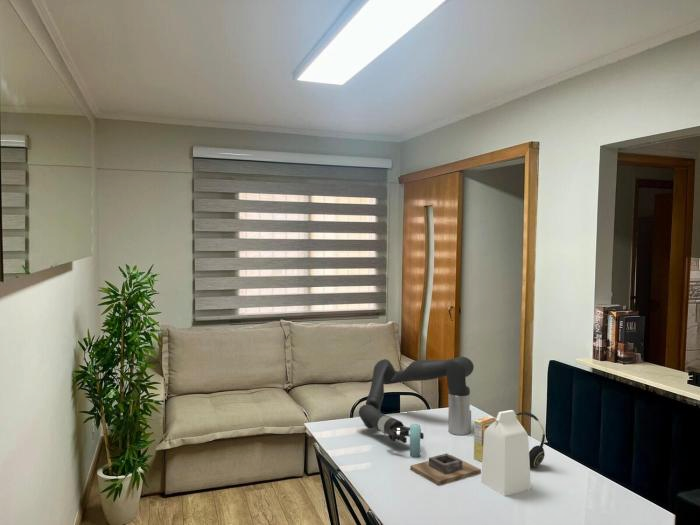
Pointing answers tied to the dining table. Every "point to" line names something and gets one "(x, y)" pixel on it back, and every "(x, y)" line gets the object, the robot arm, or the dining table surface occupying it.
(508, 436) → the milk
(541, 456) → the headphones
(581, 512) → the dining table surface
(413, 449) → the teal peg
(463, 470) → the wooden peg socket board
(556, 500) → the dining table surface
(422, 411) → the dining table surface
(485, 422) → the candy box
